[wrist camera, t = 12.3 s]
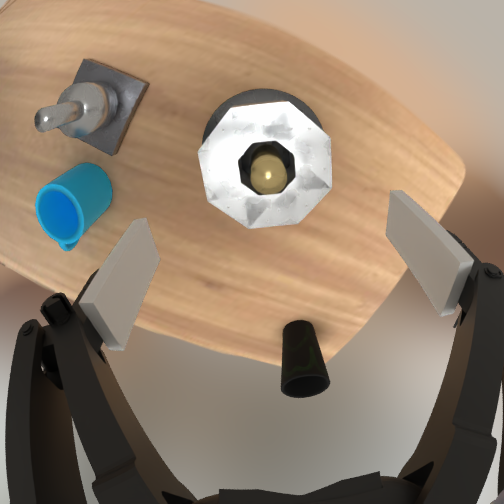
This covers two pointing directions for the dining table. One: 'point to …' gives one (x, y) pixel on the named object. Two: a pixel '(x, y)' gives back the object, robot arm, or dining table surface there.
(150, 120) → the dining table surface
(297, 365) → the cup
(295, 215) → the faceted steel ring
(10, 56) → the dining table surface
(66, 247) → the mug
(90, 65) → the stand
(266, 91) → the hub
